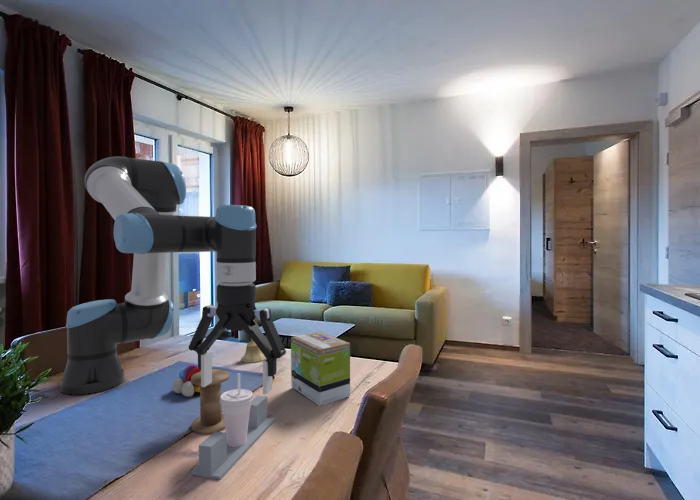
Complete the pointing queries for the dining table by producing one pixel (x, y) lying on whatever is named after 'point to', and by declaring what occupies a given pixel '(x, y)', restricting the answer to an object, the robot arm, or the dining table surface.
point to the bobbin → (210, 403)
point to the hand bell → (253, 353)
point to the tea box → (320, 367)
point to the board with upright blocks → (222, 457)
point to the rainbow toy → (186, 381)
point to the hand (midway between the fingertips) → (236, 388)
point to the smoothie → (236, 414)
